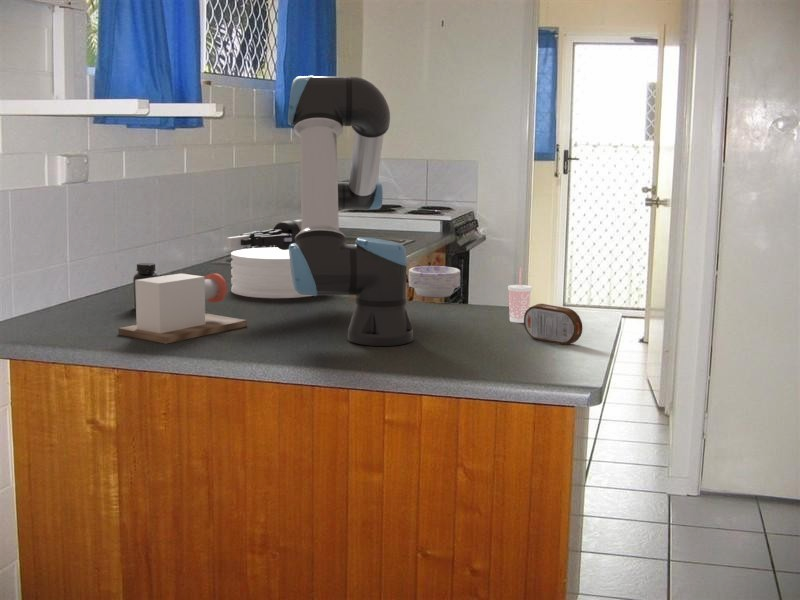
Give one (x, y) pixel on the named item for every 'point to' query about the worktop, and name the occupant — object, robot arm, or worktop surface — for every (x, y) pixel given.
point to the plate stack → (262, 273)
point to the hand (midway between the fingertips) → (229, 243)
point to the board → (186, 330)
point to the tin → (553, 324)
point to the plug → (215, 288)
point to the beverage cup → (518, 300)
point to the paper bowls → (434, 280)
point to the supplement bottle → (143, 276)
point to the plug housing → (170, 302)
